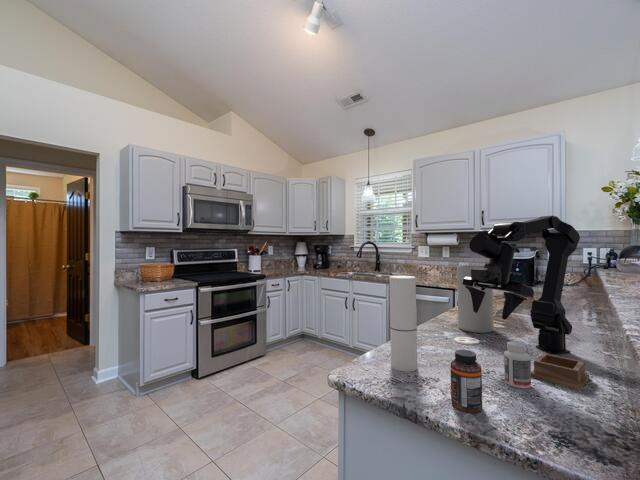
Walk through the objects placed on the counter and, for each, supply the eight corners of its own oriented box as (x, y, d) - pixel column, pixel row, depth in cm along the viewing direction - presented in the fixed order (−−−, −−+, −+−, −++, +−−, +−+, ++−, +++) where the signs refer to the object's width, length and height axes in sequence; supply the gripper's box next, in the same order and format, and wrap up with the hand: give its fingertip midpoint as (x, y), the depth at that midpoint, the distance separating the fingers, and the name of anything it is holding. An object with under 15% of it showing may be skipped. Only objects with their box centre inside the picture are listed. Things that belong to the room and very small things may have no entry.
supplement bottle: (447, 398, 67) (446, 347, 67) (475, 399, 66) (474, 347, 67) (456, 413, 61) (455, 356, 61) (487, 415, 60) (486, 357, 61)
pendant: (450, 339, 109) (450, 337, 109) (479, 338, 110) (479, 336, 110) (460, 346, 102) (460, 343, 102) (491, 344, 103) (491, 342, 103)
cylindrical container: (417, 363, 87) (416, 275, 88) (417, 373, 81) (415, 278, 81) (392, 360, 90) (390, 275, 90) (389, 369, 83) (388, 277, 83)
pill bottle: (535, 385, 73) (534, 344, 73) (525, 391, 70) (523, 348, 70) (511, 377, 77) (510, 338, 77) (500, 382, 74) (499, 342, 74)
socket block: (541, 366, 84) (540, 351, 84) (589, 377, 76) (588, 361, 76) (530, 376, 77) (529, 361, 77) (581, 390, 70) (580, 373, 70)
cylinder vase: (451, 327, 124) (450, 266, 125) (472, 323, 130) (471, 264, 130) (478, 335, 113) (477, 268, 113) (500, 331, 118) (499, 266, 119)
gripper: (455, 254, 95) (443, 303, 93) (512, 255, 77) (499, 315, 75) (480, 264, 98) (469, 311, 96) (540, 268, 81) (528, 326, 79)
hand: (488, 315), depth 87 cm, fingers open, 9 cm apart
